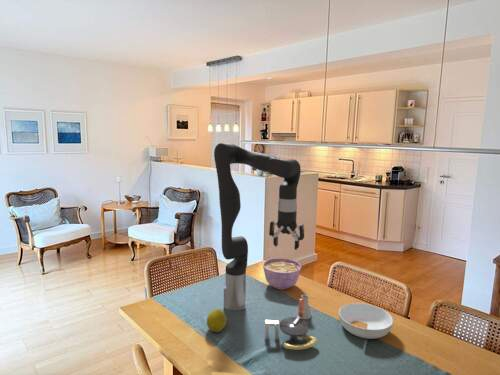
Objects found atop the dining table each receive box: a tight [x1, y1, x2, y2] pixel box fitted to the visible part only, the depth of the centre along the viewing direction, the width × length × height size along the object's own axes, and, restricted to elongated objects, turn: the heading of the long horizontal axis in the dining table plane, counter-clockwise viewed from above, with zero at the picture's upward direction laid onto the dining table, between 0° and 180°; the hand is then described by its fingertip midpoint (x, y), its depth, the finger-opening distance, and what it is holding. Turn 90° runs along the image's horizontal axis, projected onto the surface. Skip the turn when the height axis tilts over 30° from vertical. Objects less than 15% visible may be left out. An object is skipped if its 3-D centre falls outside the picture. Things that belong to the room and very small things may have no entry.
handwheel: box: [279, 297, 318, 350], centre depth 129 cm, size 18×15×13 cm
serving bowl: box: [338, 302, 394, 340], centre depth 139 cm, size 21×21×7 cm
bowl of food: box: [262, 257, 302, 290], centre depth 178 cm, size 20×20×12 cm
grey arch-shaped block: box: [264, 319, 280, 341], centre depth 131 cm, size 5×2×7 cm, turn 86°
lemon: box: [206, 308, 227, 333], centre depth 139 cm, size 11×8×8 cm
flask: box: [296, 294, 313, 320], centre depth 148 cm, size 7×7×10 cm
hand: (286, 247), depth 140 cm, fingers open, 8 cm apart
